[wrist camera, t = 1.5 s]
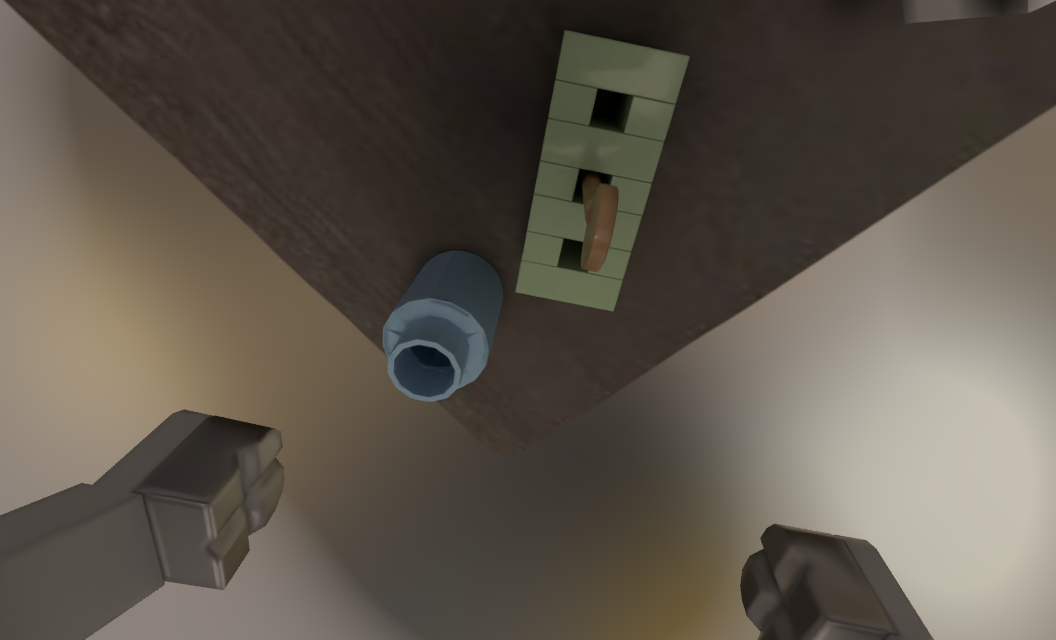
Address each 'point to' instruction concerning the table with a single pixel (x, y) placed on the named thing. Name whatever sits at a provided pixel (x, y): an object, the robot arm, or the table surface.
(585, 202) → the spoon
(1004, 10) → the blocky rabbit figurine
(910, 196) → the table surface
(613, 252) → the stand
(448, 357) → the bottle
